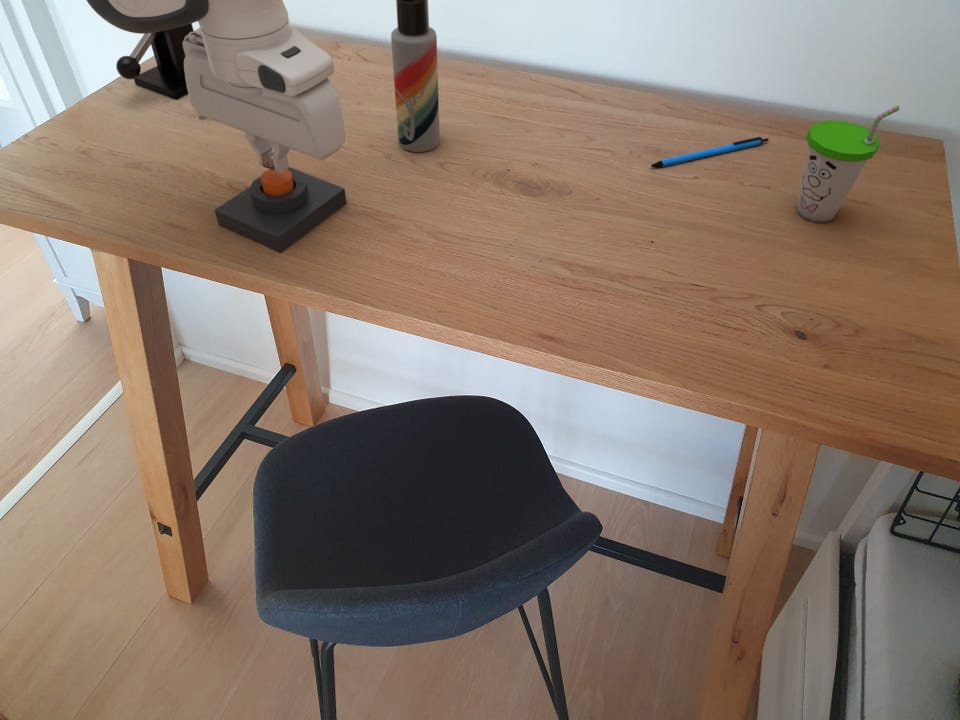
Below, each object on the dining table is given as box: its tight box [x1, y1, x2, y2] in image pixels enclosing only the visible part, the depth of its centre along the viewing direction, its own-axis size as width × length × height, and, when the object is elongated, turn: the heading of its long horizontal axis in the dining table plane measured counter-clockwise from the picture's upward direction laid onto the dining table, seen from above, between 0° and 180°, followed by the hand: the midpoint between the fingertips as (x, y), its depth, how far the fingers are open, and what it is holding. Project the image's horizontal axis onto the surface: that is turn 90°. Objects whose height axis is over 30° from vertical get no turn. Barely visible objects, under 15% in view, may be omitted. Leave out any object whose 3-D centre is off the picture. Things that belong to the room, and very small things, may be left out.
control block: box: [214, 166, 348, 253], centre depth 92 cm, size 12×10×4 cm
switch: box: [115, 32, 159, 81], centre depth 111 cm, size 13×3×3 cm
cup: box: [795, 105, 900, 224], centre depth 90 cm, size 8×8×15 cm
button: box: [260, 169, 294, 196], centre depth 91 cm, size 4×4×2 cm
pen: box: [649, 136, 770, 168], centre depth 104 cm, size 1×19×1 cm, turn 112°
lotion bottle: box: [390, 0, 440, 153], centre depth 99 cm, size 6×6×20 cm
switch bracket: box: [133, 23, 195, 100], centre depth 115 cm, size 11×9×12 cm
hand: (274, 167), depth 89 cm, fingers closed
